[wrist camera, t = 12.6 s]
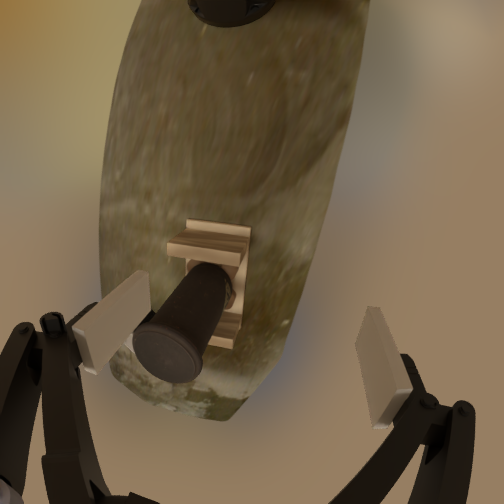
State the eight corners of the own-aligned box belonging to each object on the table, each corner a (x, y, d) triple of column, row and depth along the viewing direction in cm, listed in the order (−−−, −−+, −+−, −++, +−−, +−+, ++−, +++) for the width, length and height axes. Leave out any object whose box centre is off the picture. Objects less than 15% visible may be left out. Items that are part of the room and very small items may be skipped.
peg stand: (188, 218, 49) (167, 232, 40) (251, 226, 48) (241, 243, 39) (187, 316, 56) (170, 342, 47) (241, 326, 55) (231, 355, 46)
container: (199, 313, 50) (154, 391, 32) (176, 269, 48) (114, 336, 29) (243, 300, 48) (212, 385, 29) (220, 253, 46) (171, 322, 27)
